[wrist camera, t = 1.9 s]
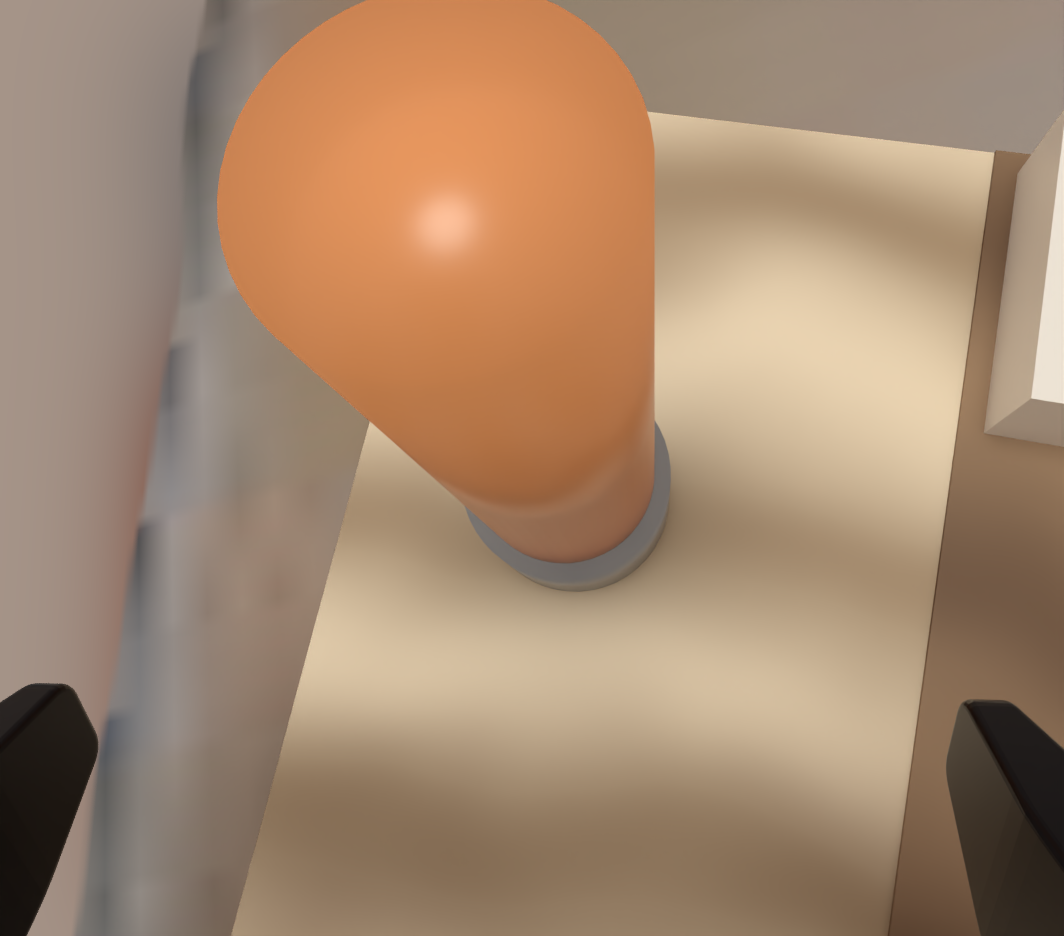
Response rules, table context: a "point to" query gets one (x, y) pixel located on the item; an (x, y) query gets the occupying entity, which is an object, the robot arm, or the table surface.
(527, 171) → the awl
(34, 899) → the robot arm
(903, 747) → the subfloor board
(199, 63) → the table surface
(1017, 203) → the block
